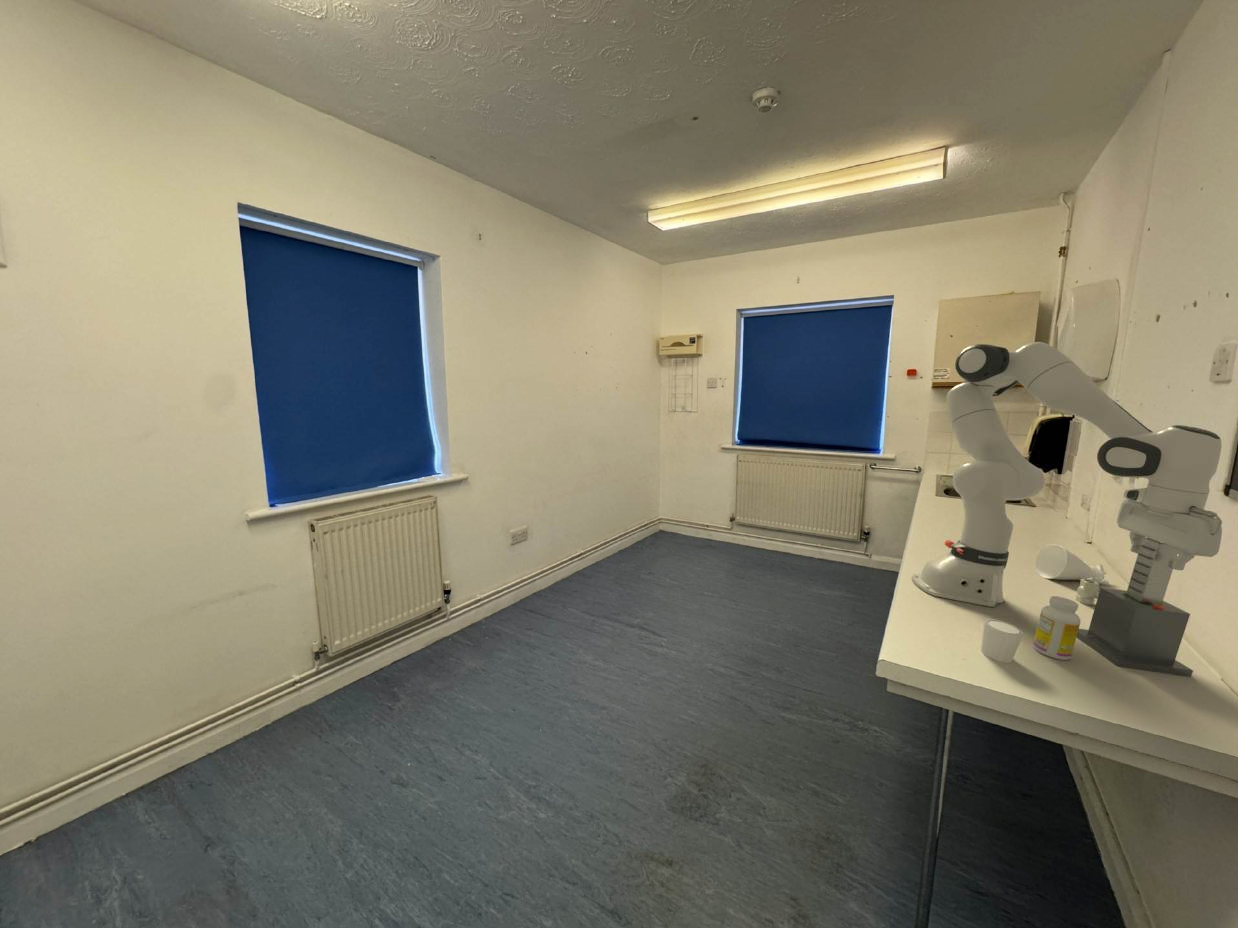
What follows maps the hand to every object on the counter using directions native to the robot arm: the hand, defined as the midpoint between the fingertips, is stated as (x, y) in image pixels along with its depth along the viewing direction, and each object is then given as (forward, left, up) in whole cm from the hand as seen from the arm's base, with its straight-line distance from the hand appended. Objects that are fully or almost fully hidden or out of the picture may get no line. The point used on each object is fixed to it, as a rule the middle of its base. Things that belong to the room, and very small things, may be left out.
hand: (1155, 560), depth 108 cm
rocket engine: (+21, +47, -24) cm, 57 cm away
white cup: (-33, -10, -23) cm, 42 cm away
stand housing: (0, 0, -23) cm, 23 cm away
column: (0, 0, -16) cm, 16 cm away
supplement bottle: (-19, -5, -23) cm, 30 cm away
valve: (+15, +27, -23) cm, 39 cm away
